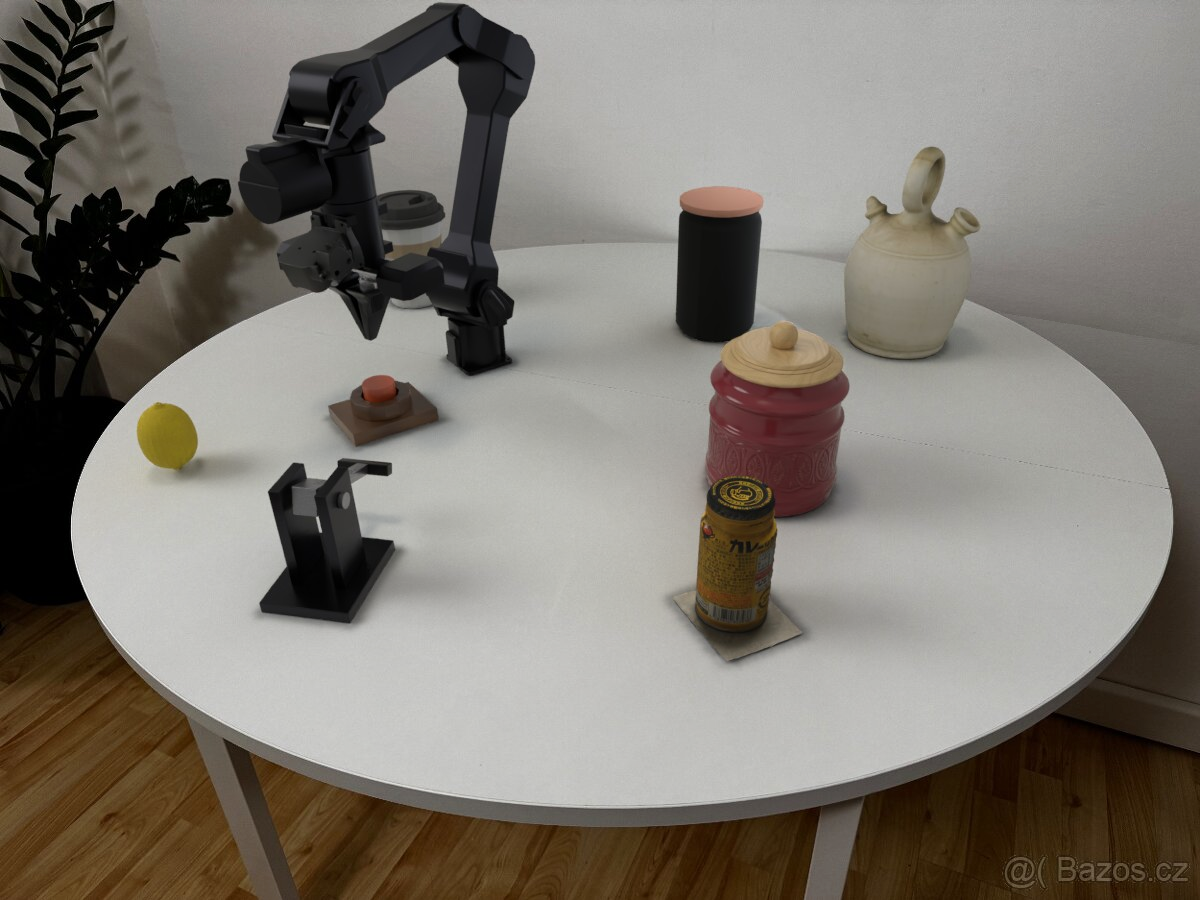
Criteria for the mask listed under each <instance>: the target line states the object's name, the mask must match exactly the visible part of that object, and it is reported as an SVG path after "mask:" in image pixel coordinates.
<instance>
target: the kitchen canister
mask: <svg viewBox="0 0 1200 900" xmlns="http://www.w3.org/2000/svg"><path fill="white" fill-rule="evenodd" d="M843 368H844V357H843V355H842V354H841V352H840V351H839V350H838V349H837V348H836V347H835V346H833V344H830V343H828V342H827V341H825V339H823V338H822V337H821V336H819V335H818V334H815V333H813V332H810V331H807V330H804V329H800V328H797V326H796V325H795V324H794V323H793V322H792V321H789V320H779V321H777V322H775V323H774V324H773V325H772V326H766V327H760V328H754V329H750V330H749V331H748V332H747V333H745V334H743V335H742V336H739V337H737V338H735V339H733V340H731V341H729V342H726V344H725V345H724V346H723V347H722V349H721V351H720V361H718V362H717V363H716V364H715V365H714V366H713V368H712V370H711V372H710V377H709V378H710V380H709V381H710V384H711V387H712V388H713V390H714V394H713V396H712V397H711V399H710V401H709V404H708V412H709V426H708V431H709V432H708V444H707V445H708V446H707V447H708V448H707V452H706V455H705V466H704V467H705V469H704V470H705V474H706V477H707V483H708V487H709V488H710V487H711V485H712V484H713V483H715V482H716V481H717V480H718V479H722V478H726V477H729V476H745V477H751V478H754V479H757V480H760V481H762V482H763V483H765V484H766V485H768V486H769V487H770V488H771V489H772V491H773V492H774V496H775V499H776V503H775V506H774V511H775V515H774V517H792V516H796V515H801V514H804V513H807V512H811V511H812V510H815V509H816V508H818V507H821V505H823V504H824V503H825V502H826V501H827V500H828V498H829V497H830V495H831V492H832V489H833V487H834V486H835V483H836V478H837V477H836V476H837V473H838V466H837V459H838V453H839V447H840V446H839V445H840V440H841V433H842V427H843V425H844V422H845V418H846V417H845V416H846V415H845V410H844V408H843V406H842V402H843V401H844V400H845V399H846V398H847V396H848V394H849V392H850V388H851V387H850V380H849V378H848V376H847V374H846V373H845V372H844V371H843Z"/></svg>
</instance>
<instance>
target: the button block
mask: <svg viewBox="0 0 1200 900" xmlns="http://www.w3.org/2000/svg"><path fill="white" fill-rule="evenodd" d="M394 381H395V387H396V396H395V397H394V398H392V399H390V400H387V401H384V402H369V401H366V400H365V399H364V394H363V388H362V384H360V385H359V386H358V387H357V386H356V388H354V389H353V390H351V393H350V397H349V398H348V399H346V400H342V401H339V402H335V403H333V404H328V406H327V409H328V414H329V418H330V419H331V420H332V422H333V423H334V424H335V425H336V426H337V428H338V429H340V431H341V432H342V433H343V434H344V436H345V437H346V438H347V440H349V441H350V443H351V444H352V445H353V446H354V447H355V448H357V447H360V446H363V445H366V444H370V443H371V442H375V441H379V440H382V439H385V438H388V437H391V436H394V435H397V434H400V433H404V432H406V431H410V430H412V429H416V428H419V427H422V426H425V425H429V424H433V423H436V422H439V420H440V419H439V411H438V408H437V407H436V406H435V405H434V404H433V403H432V402H431V401H430V400H428V398H426V396H425V395H423V393H421V391H419V390H418V389H417V388H416V387H414V386H413V384H412V383H410V382H409V381H407V382H403V381H399V380H396V379H394Z"/></svg>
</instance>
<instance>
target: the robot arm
mask: <svg viewBox="0 0 1200 900" xmlns="http://www.w3.org/2000/svg"><path fill="white" fill-rule="evenodd" d="M535 55H536V54H535V52H534V50H533V49H532V47H531V44H530V42H529V41H528V39H527V38H526V37H525V36H523V35H522V34H518V33H514V32H513V31H512V30H510V29H509V28H507V27H505V26H503V25H500V24H499V23H497V22H495V21H493V20H492V19H491V20H490V19H489V18H487V17H485V16H484V15H482V14H481V13H480V12H479V11H477V9H475V8H474V7H471V6H470V5H469V4H467V3H458V2H440V1H438V2H434V3H433V4H431V5H429V6H428V7H427V8H426V9H425V11H423V12H421V13H420V14H418V15H416V16H414V17H412V18H410V19H409V20H407V21H405V22H403V23H402V24H400V25H398V26H396V27H394V28H393V29H390V30H389V31H387V32H385V33H383V34H382V35H380V36H378V37H376V38H375V39H373V40H371V41H369V42H367V43H366V44H365V43H364V45H362V46H360V47H358V48H355V49H354V48H353V49H351V50H344V51H338V52H331V53H324V54H320V55H316V56H312V57H308V58H304V59H302V60H299V61H297V62H296V63H295V64H294V65H293V66H292V67H291V69H290V70H289V73H288V75H289V80H288V84H287V89H286V92H285V95H284V98H283V102H282V104H281V108H280V111H279V113H278V116H277V119H276V122H275V125H274V128H273V131H272V135H271V137H272V140H273V141H272V142H268V143H256V144H252V145H251V144H250V145H248V146H246V147H245V153H246V158H247V161H245V162H244V163H243V164H242V165H241V167H240V171H239V181H237V186H238V190H239V195H240V197H241V200H242V202H243V204H244V206H245V207H246V209H247V210H248V212H249V213H250V214H251V215H252V216H253V217H254V218H255V219H257V220H258V221H259V222H260V223H263V224H265V225H274V224H276V223H279V222H282V221H285V220H288V219H290V218H294V217H297V216H299V215H303V214H306V213H308V212H311V215H310V216H309V218H310V229H309V230H308V231H307V232H305V233H302V234H300V235H297V236H295V237H292V238H289V239H286V240H284V241H281V243H280V245H279V247H278V248H277V251H276V256H277V262H278V267H279V270H280V271H283V272H284V274H285V276H286V277H287V279H288V281H289V283H290V284H291V286H292V287H293V288H296V289H298V288H301V289H304V290H309V291H310V292H311V293H316V294H318V293H323V292H325V291H327V290H328V289H329V291H330V290H331V291H333V292H334V293H336V294H337V295H338V296H339V298H341V300H342V302H343V303H344V305H345V306H346V307H347V310H348V311H349V313H350V315H351V318H352V319H353V321H354V322H355V324H356V326H357V328H358V329H359V331H360V333H361V335H362V337H363V339H364V340H367V341H370V342H372V341H373V340H376V339H377V338H378V336H379V332H380V329H381V326H382V324H383V321H384V319H385V318H384V317H385V314H386V311H387V308H388V307H389V302H390V300H391V298H393V299H397V300H401V301H409V300H413V299H415V298H417V297H419V296H421V295H423V294H425V293H426V296H428V297H429V299H430V301H431V303H432V304H433V305H432V306H433V308H434V310H435V312H436V314H437V316H438V317H445V318H447V327H448V330H446V331H445V340H446V341H445V342H446V349H447V353H446V359H447V360H448V361H449V362H450V363H452V365H454V366H455V367H457V369H459V370H460V371H462V372H463V373H464V374H465V375H466V376H474V375H477V374H480V373H483V372H486V371H490V370H493V369H496V368H499V367H504V366H506V365H509V364H512V363H513V358H512V357H511V356H509V355H508V354H507V350H506V340H505V339H506V338H505V326H506V325H508V321H509V320H510V319H511V318H513V315H514V309H515V299H513V297H511V295H509V294H508V293H506V292H505V291H504V290H503V289H502V288H501V287H500V286H499V271H500V269H499V264H498V261H497V260H496V259H497V258H496V256H495V253H494V251H493V248H492V245H491V239H492V231H493V226H494V220H495V214H496V207H497V200H498V196H499V189H500V183H501V178H502V177H501V176H502V169H503V164H504V157H505V151H506V145H507V138H508V133H509V126H510V122H511V119H512V117H513V116H514V115H515V114H516V112H517V111H518V110H519V108H520V107H521V106H522V105H523V103H524V102H525V100H526V99H527V97H528V95H529V91H530V88H531V83H532V79H533V76H534V72H535V69H536V68H535V67H536V56H535ZM443 58H446V59H447V60H448V61H449V62H451V63H452V64H453V65H454V66H456V67H457V68H458V70H457V86H458V88H459V91H460V94H461V97H462V99H463V102H464V105H465V108H466V116H465V123H464V129H463V137H462V144H461V149H460V156H459V162H458V163H459V164H458V170H457V177H456V182H455V183H456V184H455V189H454V194H453V195H454V196H453V203H452V209H451V216H450V222H449V229H448V234H447V236H446V238H444V240H443V241H442V242H441V245H440V247H439V248H434V247H430V249H429V251H428V253H427V256H424V255H419V254H415V253H408V254H406V255H404V256H401V257H399V258H397V259H391V258H387V257H385V254H388V253H390V252H392V251H394V250H393V243H392V242H391V241H387V240H383V234H382V227H381V220H380V215H383V214H385V213H388V208H387V203H386V202H381V201H378V200H377V195H378V194H377V186H376V179H375V173H374V166H373V160H372V159H373V158H372V153H371V152H372V151H371V146H376V145H378V144H382V143H385V142H386V139H387V138H386V135H385V134H384V133H383V132H381V130H378V129H377V128H376V127H374V126H373V125H372V124H371V123H370V121H371V120H372V119H373V118H374V117H375V116H376V115H377V114H378V113H379V112H380V111H381V110H382V109H384V107H385V105H386V102H387V98H388V96H389V94H390V92H392V90H394V88H396V87H397V86H399V85H401V84H403V83H404V82H405V81H408V80H409V79H411V78H412V77H414V76H416V75H417V74H419V73H421V72H422V71H423V70H425V69H427V68H429V67H430V66H431V65H433V64H435V63H436V62H438V61H440V60H442V59H443ZM306 123H308V124H313V125H320V126H327V127H328V128H324V127H320V126H319V127H318V126H312V125H307V124H306Z"/></svg>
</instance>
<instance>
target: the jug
mask: <svg viewBox="0 0 1200 900" xmlns="http://www.w3.org/2000/svg"><path fill="white" fill-rule="evenodd" d="M945 171H946V156H945V153H944V151H943V150H941V149H940V148H939V147H937V146H927V147H924V148H922V149H921V150H920V151H918V152H917V153H916V155H915V157H914V158H913V159H912V161H911V163H910V166H909V168H908V169H907V173H906V176H905V179H904V183H903V188H902V193H901V204H902V206H903V209H904V210H903V211H901V212H900V213H890V212H889V211H888V205H887V204H885V203H883V202H881V201H880V200H879V199H878V197H876V196H874V195H871V196H869V197H868V198H867V199H866V202H865V204H866V212H865V214H864V217H865V218H866V219H867V220H868V221H869V224H868V226H867V227H866V228H865V229H864V230H863V232H861V234H860V235H859V236H858V238H857V239H856V240H855V242H854V243H853V245H852V247H851V248H850V251H849V253H848V257H847V258H846V262H845V265H844V269H843V270H844V272H843V288H844V307H845V309H844V310H845V311H844V312H845V322H846V328H847V338H848V340H849V341H850V343H851V344H853V346H855V347H856V348H857V349H859V350H861V351H863V352H865V353H868V354H870V355H874V356H879V357H884V358H888V359H896V360H915V359H923V358H928V357H931V356H934V355H935V354H937V353H938V352H940V351H941V350H942V348H943V347H944V345H945V344H944V343H945V342H946V341H947V338H948V336H949V335H950V333H951V330H952V327H953V325H954V323H955V321H956V319H957V317H958V315H959V314H960V311H961V309H962V307H963V305H964V302H965V299H966V297H967V294H968V291H969V288H970V284H971V281H972V275H973V259H972V254H971V251H970V247H969V245H968V243H967V240H966V239H965V237H967V236H969V235H971V234H975V233H978V232H979V231H980V230H981V224H980V221H979V220H978V218H977V217H976V216H975V215H974V214H973V213H972V212H971V211H970V210H968V209H967V208H965V207H955V208H954V210H953V214H952V216H951V217H950V219H949V221H948V222H947V221H946V220H944V219H943V218H941V217H938V216H937V215H935V214H934V212H933V209H932V206H933V204H934V202H935V200H936V199H937V198H938V197H937V196H938V195H939V193H940V189H941V187H942V183H943V180H944V176H945Z"/></svg>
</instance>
